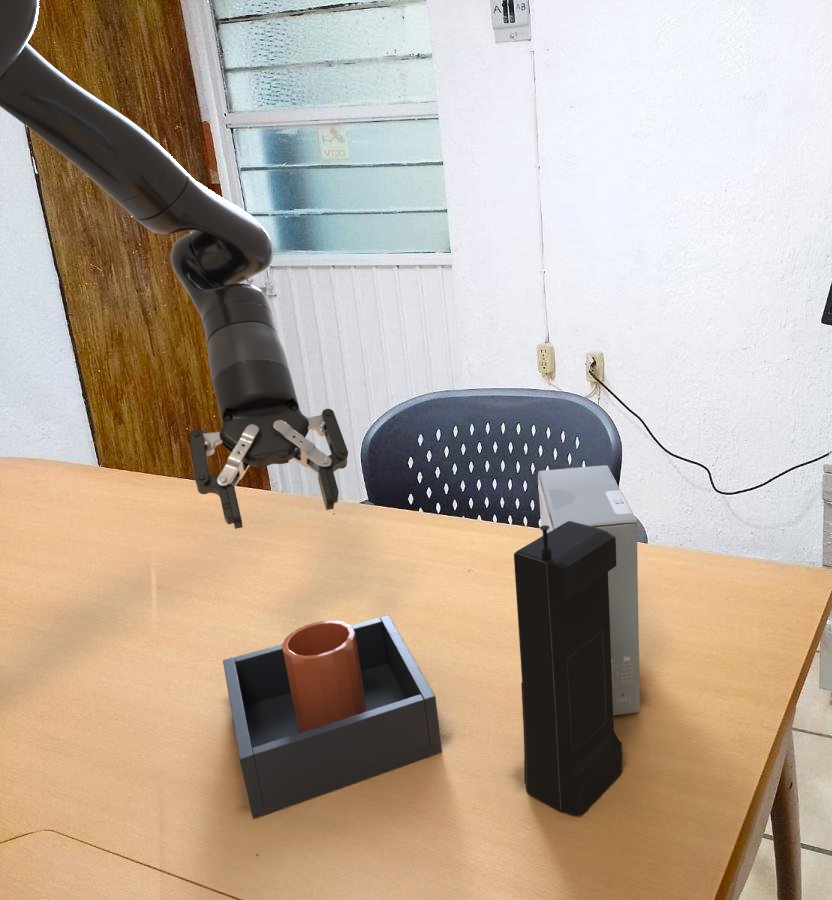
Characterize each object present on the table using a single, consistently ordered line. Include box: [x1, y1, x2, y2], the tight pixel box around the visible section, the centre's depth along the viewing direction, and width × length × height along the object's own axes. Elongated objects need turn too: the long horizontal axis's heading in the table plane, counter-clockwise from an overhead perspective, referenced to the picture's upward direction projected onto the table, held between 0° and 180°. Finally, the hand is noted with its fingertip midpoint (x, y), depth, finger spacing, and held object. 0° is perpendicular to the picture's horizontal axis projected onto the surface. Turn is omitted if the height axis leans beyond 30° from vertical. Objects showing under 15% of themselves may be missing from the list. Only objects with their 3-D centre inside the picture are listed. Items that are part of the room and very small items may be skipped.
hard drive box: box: [537, 465, 641, 717], centre depth 82 cm, size 16×8×20 cm, turn 9°
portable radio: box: [513, 521, 623, 816], centre depth 66 cm, size 8×6×25 cm
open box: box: [222, 614, 443, 820], centre depth 77 cm, size 16×16×6 cm
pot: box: [281, 620, 367, 733], centre depth 76 cm, size 6×6×9 cm
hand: (285, 515), depth 81 cm, fingers open, 8 cm apart
